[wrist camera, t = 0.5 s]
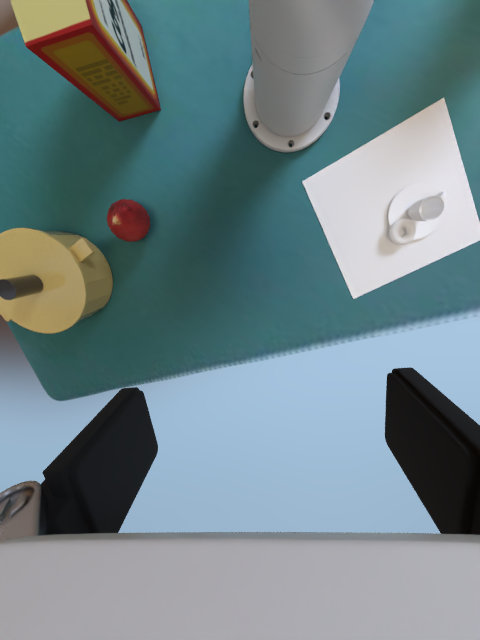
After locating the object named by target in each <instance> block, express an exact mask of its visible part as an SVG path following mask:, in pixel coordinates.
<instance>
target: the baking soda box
mask: <svg viewBox="0 0 480 640" xmlns="http://www.w3.org/2000/svg"><path fill="white" fill-rule="evenodd" d="M11 3H12V7H13V9H14V13H15V15H16V18H17V22H18V24H19V27H20V30H21V33H22V36H23V39H24V42H25V45H26V47H27V48H28V49H29V50H31V51H32V52H33V53H34V54H36V55H37V56H38V57H39V58H41V59H42V60H43V61H44V62H46V63H47V64H48V65H49V66H51V67H52V68H53V69H54V70H56V71H57V72H58V73H59V74H61V75H62V76H63V77H64V78H66V79H67V80H68V81H69V82H71V83H72V84H73V85H74V86H76V87H77V88H78V89H79V90H81V91H82V92H83V93H84V94H86V95H87V96H88V97H89V98H91V99H92V100H93V101H94V102H96V103H97V104H98V105H99V106H101V107H102V108H103V109H104V110H106V111H107V112H108V113H109V114H110V115H112V116H113V117H114V118H115V119H117V120H118V121H122V120H126V119H130V118H133V117H137V116H140V115H144V114H148V113H151V112H155V111H158V110H161V108H160V104H159V99H158V95H157V91H156V86H155V82H154V78H153V73H152V69H151V65H150V60H149V56H148V52H147V47H146V43H145V39H144V34H143V30H142V26H141V24H140V22H139V21H138V19H137V17H136V15H135V14H134V12H133V10H132V8H131V7H130V5H129V3H128V2H127V0H11Z"/></svg>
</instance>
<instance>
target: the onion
mask: <svg viewBox="0 0 480 640" xmlns="http://www.w3.org/2000/svg"><path fill="white" fill-rule="evenodd" d="M107 222H108V226H109V228H110V229H111V231H112V232H113V233H114V234H115V235H116V236H117V237H118V238H120V239H122V240H125V241H128V242H129V241H138V240H140V239H142V238H144V237H145V235H146V234H147V233H148V231H149V228H150V218H149V215H148V213H147V211H146V210H145V209H144V208H143V206H142V205H140V204H139V203H137V202H135V201H133V200H125V199H122V200H119V201H117V202H115V203H113V204H112V205H111V207H110V208H109V210H108V215H107Z"/></svg>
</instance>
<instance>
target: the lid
mask: <svg viewBox="0 0 480 640" xmlns="http://www.w3.org/2000/svg"><path fill="white" fill-rule="evenodd" d="M87 301H88V287H87V281H86V278H85V274H84V272H83V270H82V267H81V265H80V264H79V262H78V260H77V259H76V257H75V256H74V255H73V253H72V252H71V251H70V250H69V249H68V248H67V247H66V246H65V245H64V244H63V243H62V242H60V241H59V240H58V239H56V238H55V237H53V236H51V235H49V234H47V233H45V232H43V231H40V230H36V229H31V228H15V229H10V230H7V231H5V232H3V233H1V234H0V309H1V310H2V311H3V312H4V313H5V314H6V315H7V316H8V317H9V318H10V319H12V320H13V321H14V322H16V323H17V324H19V325H20V326H22V327H24V328H26V329H29V330H31V331H35V332H39V333H57V332H61V331H64V330H66V329H68V328H70V327H72V326H73V325H74V324H76V323H77V322H78V321H79V319H80V318H81V317H82V315H83V313H84V311H85V309H86V306H87Z"/></svg>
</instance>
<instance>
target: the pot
mask: <svg viewBox="0 0 480 640" xmlns="http://www.w3.org/2000/svg"><path fill="white" fill-rule="evenodd" d="M43 232H45V233H47V234H49V235H51V236H53V237H55V238H56V239H58V240H59V241H60V242H62V243H63V244H64V245H65V246H66V247H67V248H68V249H69V250H70V251H71V252H72V253H73V255H74V256H75V257H76V259H77V260H78V262H79V264H80V265H81V267H82V270H83V272H84V274H85V278H86V281H87V287H88V301H87V306H86V309H85V311H84V313H83V315H82V317H81V318H80V319H79V321H80V320H82V319H85V318H87V317H89V316H91V315H93V314H95V313H96V312H98V311H99V310H101V309H102V308H103V307H104V306H105V305H106V304H107V302H108V300H109V299H110V296H111V293H112V288H113V278H112V273H111V269H110V266H109V264H108V262H107V260H106V258H105V257H104V255H103V254H102V252H101V251H100V250H99V249H98V248H97V247H96V246H95V245H94V244H93V243H91V242H90V241H89V240H87V239H86V238H84V237H81V236H79V235H76V234H72V233H66V232H51V231H43ZM0 314H1V316H2V317H3V318H4V319H5V320H6V321H7V322H9V321H12V319H10V318H9V317H8V316H7V315H6V314H5V313H4V312H3V311H2V310H1V309H0Z"/></svg>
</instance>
